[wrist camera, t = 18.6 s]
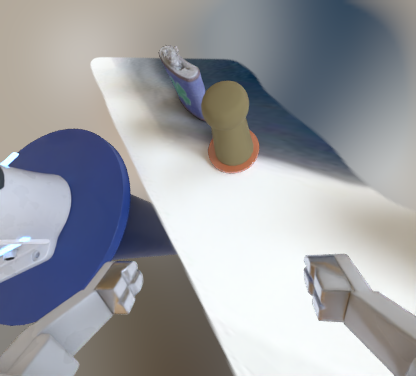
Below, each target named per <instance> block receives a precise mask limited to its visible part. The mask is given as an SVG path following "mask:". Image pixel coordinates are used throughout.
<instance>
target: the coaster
mask: <svg viewBox="0 0 416 376" xmlns="http://www.w3.org/2000/svg"><path fill="white" fill-rule="evenodd" d="M249 131H250V130H249ZM250 135H251V138H252V142H253V145H254V147H253V153H252V155H251V157H250V158H249V159H248V160H247V161H246V162H244V163H242V164H240V165H237V166H228V165H225V164H223V163H221V162H220V161H219V160H218V158H217V157H216V154H215V148H214V142H213V139H212V140H211V142H210V144H209V148H208V155H209V159H210V161H211V163H212V164H213V165H214V167H215V168H217V169H218V170H220V171H222V172H225V173H239V172H242V171H244V170H246V169H248V168H249V167H250V166H252V165H253V163H254V162H255V161H256V159H257V157H258V154H259V142H258V139H257V137H256V136H255V135H254V133H252V132H251V131H250Z"/></svg>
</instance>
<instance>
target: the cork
mask: <svg viewBox="0 0 416 376" xmlns="http://www.w3.org/2000/svg"><path fill="white" fill-rule="evenodd" d="M248 108H249V99H248V96H247V93H246V91H245V89H244V88H243V87H242V86H241V85H240V84H238V83H236V82H233V81H221V82H218V83H216V84H214V85H212V86H211V87H210V88H209V89H208V90H207V91H206V92H205V94H204V96H203V99H202V103H201V110H202V115H203V117H204V119H205V121H206V122H207V123H208V124H209V125H210V126H211V129H212V135H213V142H214V148H215V154H216V157H217V158H218V160H219V161H220V162H221V163H223V164H225V165H228V166H237V165H240V164H242V163H244V162H246V161H247V160H248V159H249V158H250V157H251V155H252V153H253V147H254V145H253V142H252V138H251V135H250V131H249V128H248V124H247V121H246V115H247V113H248Z"/></svg>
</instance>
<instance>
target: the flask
mask: <svg viewBox="0 0 416 376" xmlns="http://www.w3.org/2000/svg"><path fill="white" fill-rule="evenodd" d="M175 48H176V49H175V50H174V48H173V47H172V46H171V45H168V46H167V45H166V46H164V47H162V48H161V49H160V50H159V57H160V59H161V61H162V63H163V65H164V67H165V69H166V71H167V73H168V75H169V77H170V79H171V81H172V83H173V85H174V87H175V89H176V92H177V94H178V96H179V99H180V101H181V103H182V104H183V106H184V107H185V108H186V109H187V110H188V111H189V112H191V113H192V114H193V115H194V116H196V117H197V118H199V119H200V120H202V121H205V119H204V117H203V115H202V110H201V103H202V99H203V96H204V94H205V92H206V91H205V88H204V84H203V81H202V78H201V74H200V71H199V69H198V68H197V67H196V66H194V65H192V64H190V63H188V62H187V61H186V60H184V59H183V58H182V57H180V55H179V54H177V53H178V49H177V46H175Z"/></svg>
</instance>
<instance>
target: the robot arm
mask: <svg viewBox="0 0 416 376" xmlns="http://www.w3.org/2000/svg"><path fill="white" fill-rule="evenodd" d="M18 155H19V154H18V153H15V152H13V153H12V154H11V155H10V156H9V157H8V158H7V159H6V160H5V161H3V162H2V163H1V164H0V283H1V282H3V281H6V280H8V279H10V278H12V277H14V276H16V275H18V274H20V273H22V272H24V271H26V270H29V269H31V268H33V267H35V266H37V265H39V264H41V263H43V262H45V261H47V260H49V259H50V258H51V257H52V256H53V254H54V251H55V248H56V243H57V239H58V236H59V234H60V232H61V231H62V229H63V227H64V225H65V223H66V221H67V218H68V215H69V212H70V208H71V191H70V187H69V185H68V183H67V182H66V180H65V179H64V178H62V177H61V176H59V175H55V174H45V173H38V172H33V171H27V170H23V169H18V168H13V167H9V166H7V165H8V164H9V163H11V162H12V161H13V160H14V159H15V158H16V157H17V156H18ZM304 262H305V265H306V267H305V268H304V279H305V284H306V287H307V290H308V293H310V294H311V295H312V296H313V300H312V304H313V307H314V309H315V312H316V315H317V317H318V320H319V321H332V322H344V324H345V325H346V326H347V327H348V328H349V329H350V331H351V332H352V333H353V334H354V335H355V336H356V337H357V338H358V339H359V340H360V341H361V342H362V343H363V344H364V345H365V346H366V347H367V348H368V349H369V350H370V351H371V352H372V353H373V354H374V355H375V356H376V357H377V358H378V359H379V360H380V361H381V362H382V363H383V364H384V365H385V366H386V367H387V368H388V369H389V370H390V371H391V372H392V373H393V374H394V375H395V376H416V316H415V315H413V314H412V313H410V312H408V311H407V310H405V309H404V308H402V307H401V306H399V305H398V304H396V303H395V302H393V301H392V300H390V299H389V298H387V297H386V296H384V295H383V294H381V293H380V292H377V291H373V290H372V289H371V288H370V286H369V285H368V283H367V282H366V280H365V279H364V278H363V276H362V275H361V273H360V272H359V271H358V269H357V268H356V266H355V265H354V263H353V262H352V261H351V259H350V258H349V256H348V255H346V254H325V255H305V258H304ZM137 267H138V265H137V263H136V262H135V261H108V262H106V263H104V265H103V266H102V267H101V269H100V270H99V271H98V272H97V274H96V275H95V276H94V278H93V279H92V280H91V281H90V283H89V284H88V285H87V287H86V288H85V289H84V290H81V291H79V292H78V293H76V294H75V295H73V296H72V297H71V298H69V299H68V300H66V301H65V302H63V303H62V304H61V305H59V306H58V307H56V308H55V309H53V310H52V311H51V312H49V313H48V314H46V315H45V316H44V317H42V318H41V319H39V320H38V321H36V322H35V323H34V324H32V325H31V326H30V327H28V328H26V329H25V330H24V331H22V332H21V334H20V335H19V336H18V337H17V338H16V339H15V340H14V341H13V343H12V344H11V345H10V346H9V347H8V348H7V349H6V351H4V353H3V354H2V355H1V356H0V376H74V375H75V373H76V371H77V369H78V367H79V362H78V361H77V360H76V359H75V358H74V357H73V356H74V355H75V354H76V353H77V352H78V351H79V350H80V349H81V348H82V347H83V346H84V345H85V344H86V343H87V341H88V340H89V339H90V338H91V337H92V336H93V335H94V334H95V333H96V332H97V331H98V330H99V329H100V328H101V327H102V326H103V325H104V324H105V323H106V322H107V321H108V320H109V319H110V318H111V317H112V316H113V314H129V312H130V310H131V308H132V306H133V304H134V302H135V295H136V294H137V293H138V292H140V289H141V287H142V283H143V275H142V273H141V272H140V271H139V270H138V269H137Z"/></svg>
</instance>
